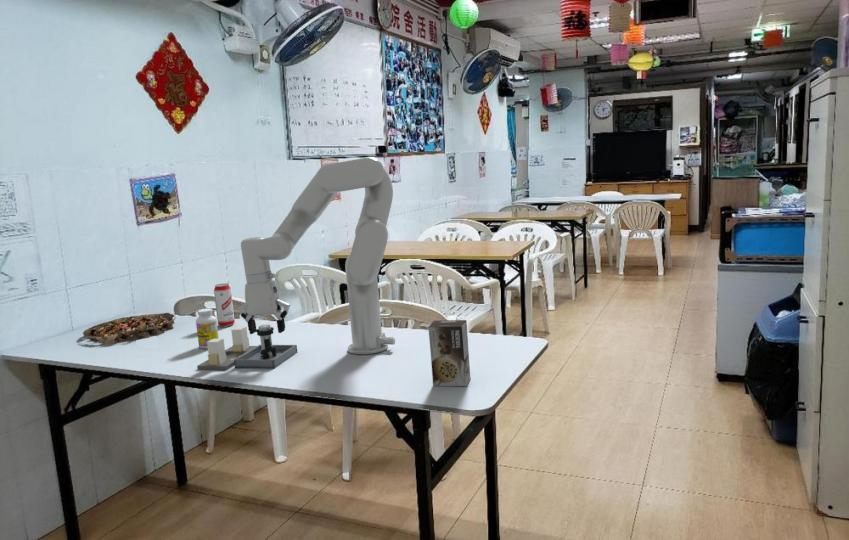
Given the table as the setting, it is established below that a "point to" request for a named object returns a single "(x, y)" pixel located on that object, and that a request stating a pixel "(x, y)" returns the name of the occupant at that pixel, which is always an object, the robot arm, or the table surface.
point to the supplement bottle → (206, 327)
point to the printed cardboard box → (449, 353)
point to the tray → (252, 359)
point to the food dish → (130, 328)
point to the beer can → (224, 305)
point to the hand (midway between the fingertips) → (267, 332)
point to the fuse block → (219, 353)
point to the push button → (266, 342)
